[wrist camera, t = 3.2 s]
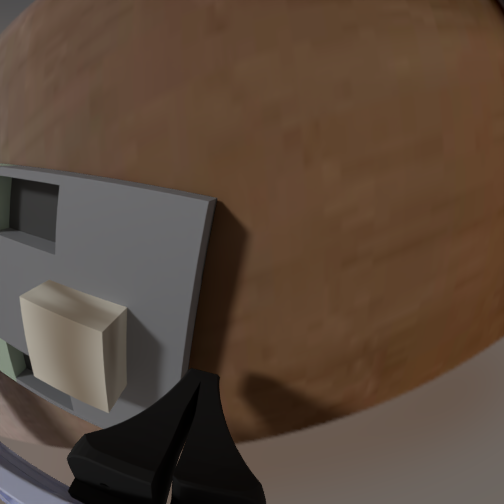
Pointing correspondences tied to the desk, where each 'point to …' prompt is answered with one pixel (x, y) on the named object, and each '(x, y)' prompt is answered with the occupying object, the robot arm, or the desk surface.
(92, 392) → the cream block
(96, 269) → the board
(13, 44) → the desk surface
